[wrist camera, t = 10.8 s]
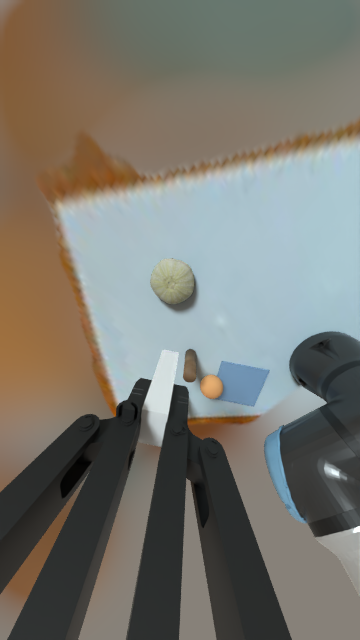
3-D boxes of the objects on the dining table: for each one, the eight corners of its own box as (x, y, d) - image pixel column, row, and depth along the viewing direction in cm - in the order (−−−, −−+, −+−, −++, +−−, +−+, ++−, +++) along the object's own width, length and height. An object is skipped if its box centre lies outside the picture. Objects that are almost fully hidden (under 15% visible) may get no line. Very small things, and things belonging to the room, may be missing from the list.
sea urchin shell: (165, 313, 38) (146, 296, 32) (158, 286, 42) (140, 266, 35) (203, 296, 36) (191, 274, 30) (193, 269, 40) (180, 244, 33)
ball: (207, 367, 45) (228, 376, 43) (202, 384, 47) (222, 393, 45) (199, 378, 41) (222, 389, 38) (194, 396, 43) (216, 408, 40)
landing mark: (269, 370, 43) (269, 370, 43) (253, 405, 47) (253, 406, 47) (221, 361, 43) (221, 361, 43) (210, 397, 48) (210, 397, 47)
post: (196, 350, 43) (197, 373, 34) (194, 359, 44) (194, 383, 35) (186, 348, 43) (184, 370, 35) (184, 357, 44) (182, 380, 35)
